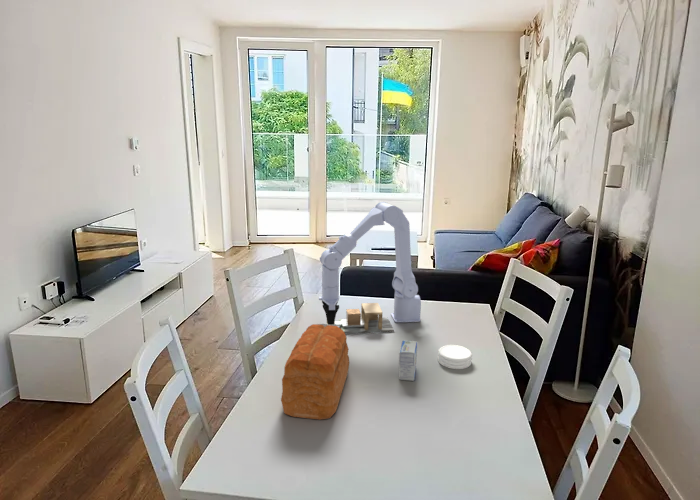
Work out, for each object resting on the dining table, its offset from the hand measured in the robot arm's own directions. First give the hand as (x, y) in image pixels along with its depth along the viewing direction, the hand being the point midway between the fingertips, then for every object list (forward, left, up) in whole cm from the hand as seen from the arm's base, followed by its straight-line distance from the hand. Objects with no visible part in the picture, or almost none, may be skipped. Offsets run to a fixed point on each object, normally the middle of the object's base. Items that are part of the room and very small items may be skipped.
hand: (330, 321), depth 169 cm
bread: (+7, +40, -3) cm, 41 cm away
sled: (-5, 0, -1) cm, 5 cm away
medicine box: (-20, +34, -2) cm, 39 cm away
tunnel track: (-12, 0, -2) cm, 13 cm away
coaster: (-36, +28, -3) cm, 45 cm away
